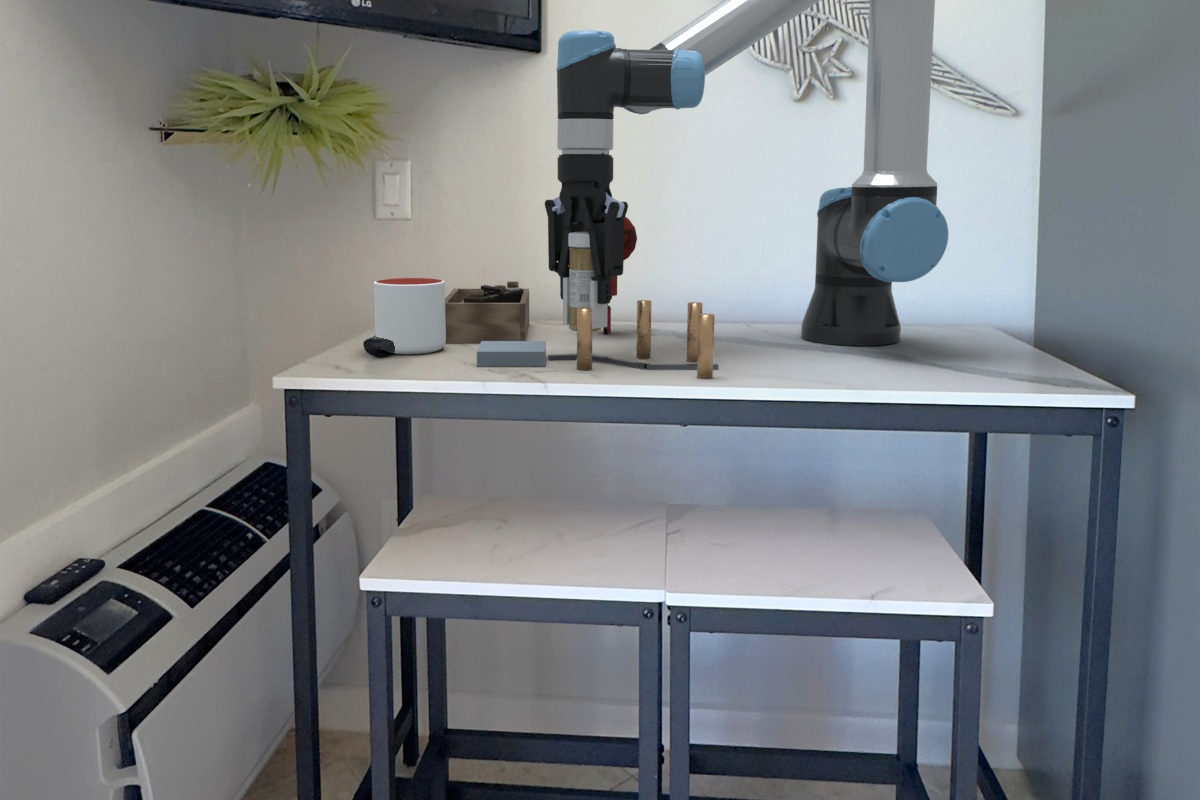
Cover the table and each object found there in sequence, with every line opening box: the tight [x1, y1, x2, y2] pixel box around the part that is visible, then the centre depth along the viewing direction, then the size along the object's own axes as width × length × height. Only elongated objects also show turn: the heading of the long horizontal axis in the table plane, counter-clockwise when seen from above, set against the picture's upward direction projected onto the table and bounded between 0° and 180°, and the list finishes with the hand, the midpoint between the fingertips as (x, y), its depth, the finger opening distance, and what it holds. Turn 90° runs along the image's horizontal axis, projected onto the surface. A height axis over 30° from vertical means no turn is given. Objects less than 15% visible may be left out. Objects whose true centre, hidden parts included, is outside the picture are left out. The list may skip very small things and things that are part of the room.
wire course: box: [547, 299, 719, 380], centre depth 145 cm, size 23×16×8 cm
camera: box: [462, 281, 524, 303], centre depth 173 cm, size 16×7×8 cm, turn 159°
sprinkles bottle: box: [568, 232, 602, 333], centre depth 150 cm, size 5×5×14 cm
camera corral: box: [445, 288, 530, 344], centre depth 174 cm, size 13×21×6 cm, turn 2°
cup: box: [373, 277, 447, 355], centre depth 157 cm, size 10×10×10 cm
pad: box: [476, 340, 547, 368], centre depth 150 cm, size 9×9×2 cm
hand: (585, 325), depth 151 cm, fingers closed on sprinkles bottle, 4 cm apart
